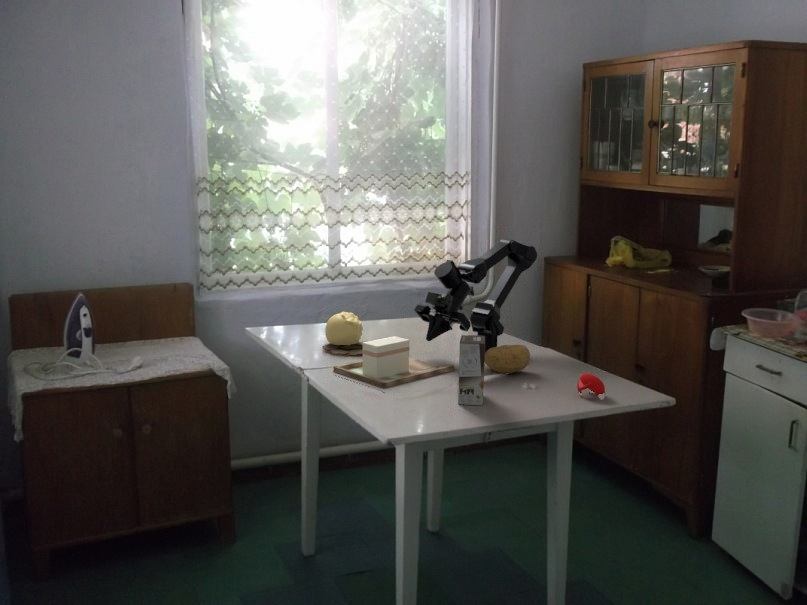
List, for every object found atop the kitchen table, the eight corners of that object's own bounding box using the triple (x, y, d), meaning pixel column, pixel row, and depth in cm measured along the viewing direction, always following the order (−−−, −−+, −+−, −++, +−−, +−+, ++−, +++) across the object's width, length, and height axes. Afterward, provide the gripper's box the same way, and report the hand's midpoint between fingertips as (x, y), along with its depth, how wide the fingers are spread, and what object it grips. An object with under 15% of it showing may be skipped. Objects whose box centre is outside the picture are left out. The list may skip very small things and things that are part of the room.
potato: (476, 370, 242) (477, 343, 241) (520, 366, 247) (521, 340, 245) (491, 379, 233) (492, 351, 232) (536, 375, 238) (537, 348, 236)
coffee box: (483, 406, 210) (485, 343, 207) (457, 404, 210) (459, 342, 207) (483, 395, 219) (485, 335, 216) (459, 394, 219) (460, 334, 216)
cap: (569, 384, 219) (585, 377, 214) (580, 372, 222) (596, 365, 218) (587, 408, 219) (603, 402, 214) (597, 396, 223) (613, 390, 218)
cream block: (394, 366, 240) (394, 336, 239) (409, 370, 236) (409, 339, 234) (362, 374, 232) (362, 342, 230) (376, 378, 228) (377, 346, 226)
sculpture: (363, 348, 265) (363, 315, 263) (324, 349, 264) (324, 315, 262) (362, 340, 276) (362, 308, 274) (325, 340, 275) (325, 308, 273)
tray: (403, 359, 253) (403, 351, 253) (454, 373, 238) (454, 365, 238) (333, 375, 235) (333, 366, 234) (383, 392, 220) (383, 383, 219)
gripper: (418, 277, 251) (391, 318, 245) (464, 285, 237) (436, 329, 232) (437, 299, 257) (410, 340, 252) (482, 309, 244) (455, 352, 239)
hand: (427, 340), depth 244 cm, fingers closed
